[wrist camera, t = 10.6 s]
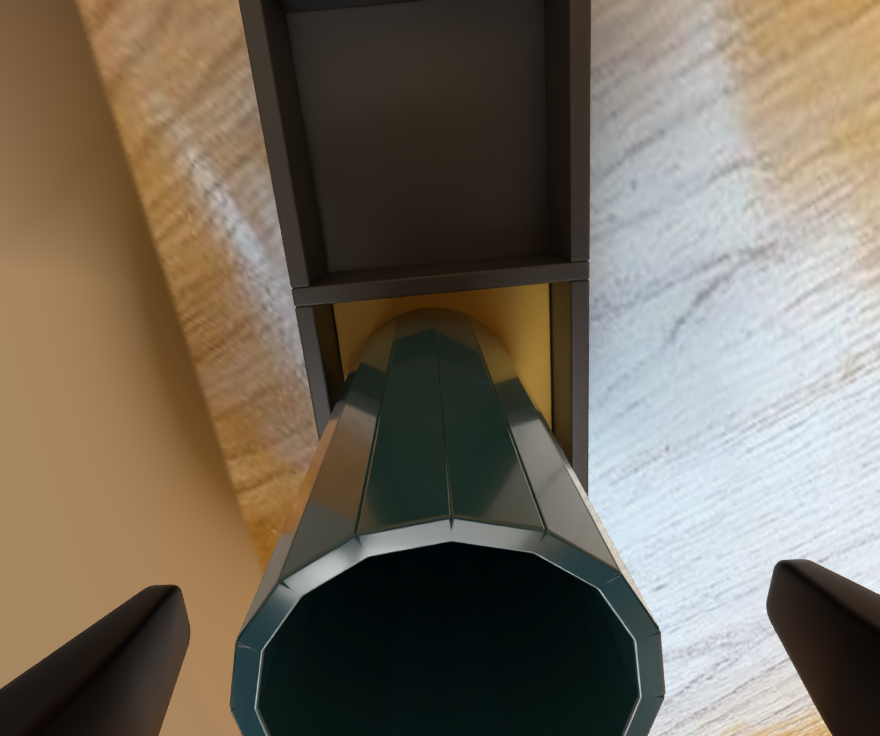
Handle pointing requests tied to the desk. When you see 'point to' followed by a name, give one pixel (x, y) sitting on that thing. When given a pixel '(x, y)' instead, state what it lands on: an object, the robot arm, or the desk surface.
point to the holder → (434, 179)
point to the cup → (444, 565)
